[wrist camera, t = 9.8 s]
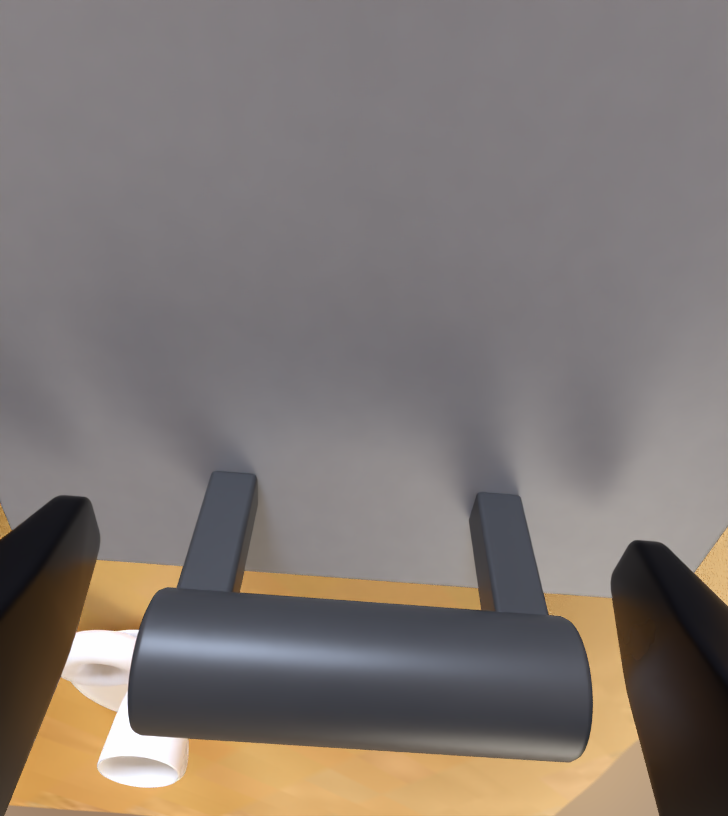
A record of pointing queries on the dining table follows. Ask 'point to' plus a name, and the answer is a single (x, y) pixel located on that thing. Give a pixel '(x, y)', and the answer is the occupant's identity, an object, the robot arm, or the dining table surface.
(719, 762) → the robot arm
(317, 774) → the dining table surface
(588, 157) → the grey box lid
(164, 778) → the teacup and saucer
